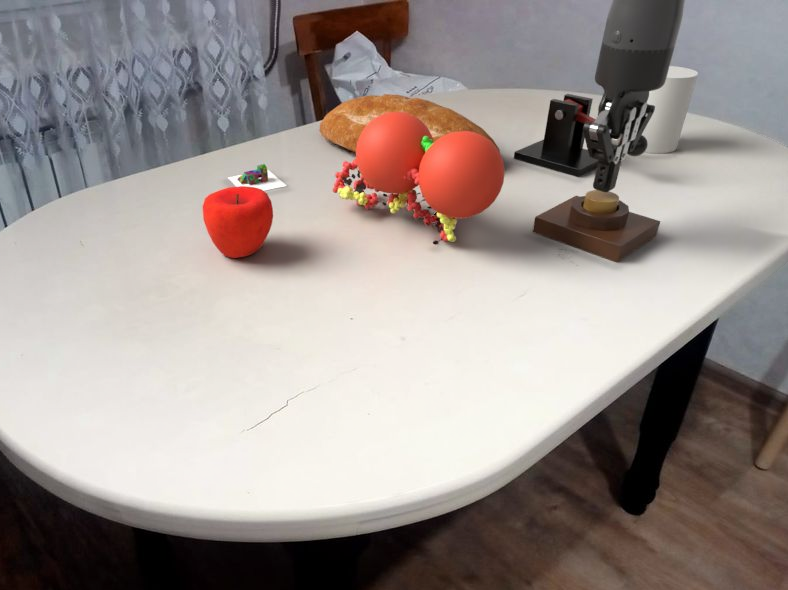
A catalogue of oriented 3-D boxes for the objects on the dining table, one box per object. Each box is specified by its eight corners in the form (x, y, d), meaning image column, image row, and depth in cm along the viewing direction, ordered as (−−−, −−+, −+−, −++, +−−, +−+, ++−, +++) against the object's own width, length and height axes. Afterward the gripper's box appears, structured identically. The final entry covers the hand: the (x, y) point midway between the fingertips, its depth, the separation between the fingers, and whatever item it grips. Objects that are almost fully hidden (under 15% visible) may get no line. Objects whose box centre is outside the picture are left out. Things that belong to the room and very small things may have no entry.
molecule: (516, 228, 88) (526, 124, 77) (471, 276, 84) (475, 173, 72) (370, 174, 101) (360, 78, 89) (324, 213, 96) (307, 117, 85)
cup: (671, 138, 116) (692, 66, 109) (680, 154, 109) (703, 78, 102) (622, 136, 117) (639, 65, 110) (628, 152, 111) (647, 77, 104)
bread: (352, 120, 129) (352, 73, 124) (520, 155, 111) (528, 101, 106) (294, 145, 119) (292, 94, 113) (470, 188, 100) (476, 129, 95)
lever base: (608, 162, 107) (622, 100, 102) (578, 177, 103) (591, 113, 97) (543, 145, 115) (553, 87, 109) (513, 158, 110) (522, 98, 104)
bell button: (621, 208, 84) (625, 195, 83) (605, 218, 82) (609, 204, 81) (593, 199, 87) (596, 187, 86) (576, 208, 85) (579, 195, 84)
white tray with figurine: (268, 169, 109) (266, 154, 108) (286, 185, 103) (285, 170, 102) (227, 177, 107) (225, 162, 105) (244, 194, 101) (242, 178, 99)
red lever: (645, 157, 100) (655, 137, 97) (634, 162, 98) (645, 142, 96) (563, 114, 107) (571, 95, 104) (552, 119, 105) (560, 99, 103)
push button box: (656, 236, 85) (664, 207, 83) (617, 262, 80) (625, 232, 78) (573, 210, 93) (578, 182, 91) (532, 232, 88) (537, 203, 85)
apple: (266, 270, 81) (261, 211, 76) (198, 265, 82) (189, 207, 78) (283, 238, 88) (279, 182, 84) (220, 234, 90) (213, 179, 85)
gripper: (642, 55, 67) (603, 213, 77) (699, 35, 74) (657, 183, 84) (575, 44, 71) (547, 195, 82) (635, 27, 79) (602, 168, 89)
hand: (603, 189), depth 83 cm, fingers closed
